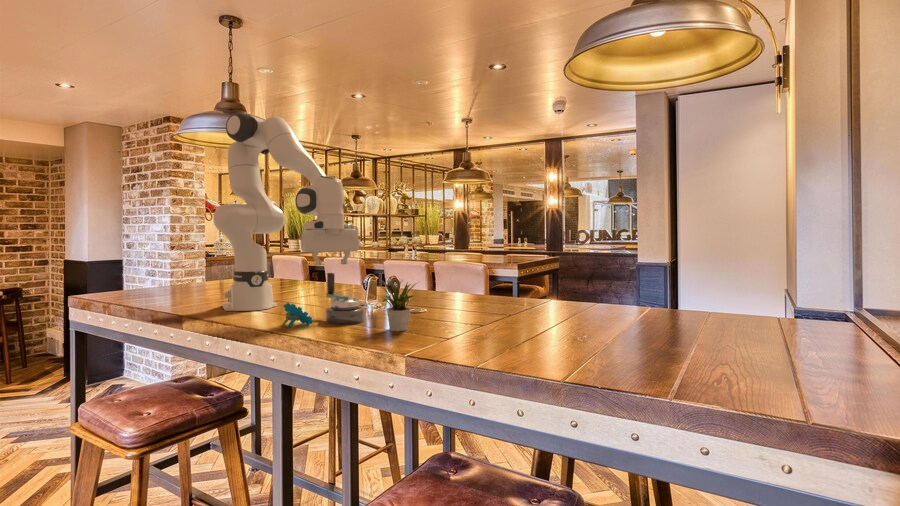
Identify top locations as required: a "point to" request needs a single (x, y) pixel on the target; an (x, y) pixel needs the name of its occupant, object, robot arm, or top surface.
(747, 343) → the top surface
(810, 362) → the top surface
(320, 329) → the top surface
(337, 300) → the crank handle
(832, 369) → the top surface
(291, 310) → the toy dinosaur
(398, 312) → the house plant
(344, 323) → the nut housing
